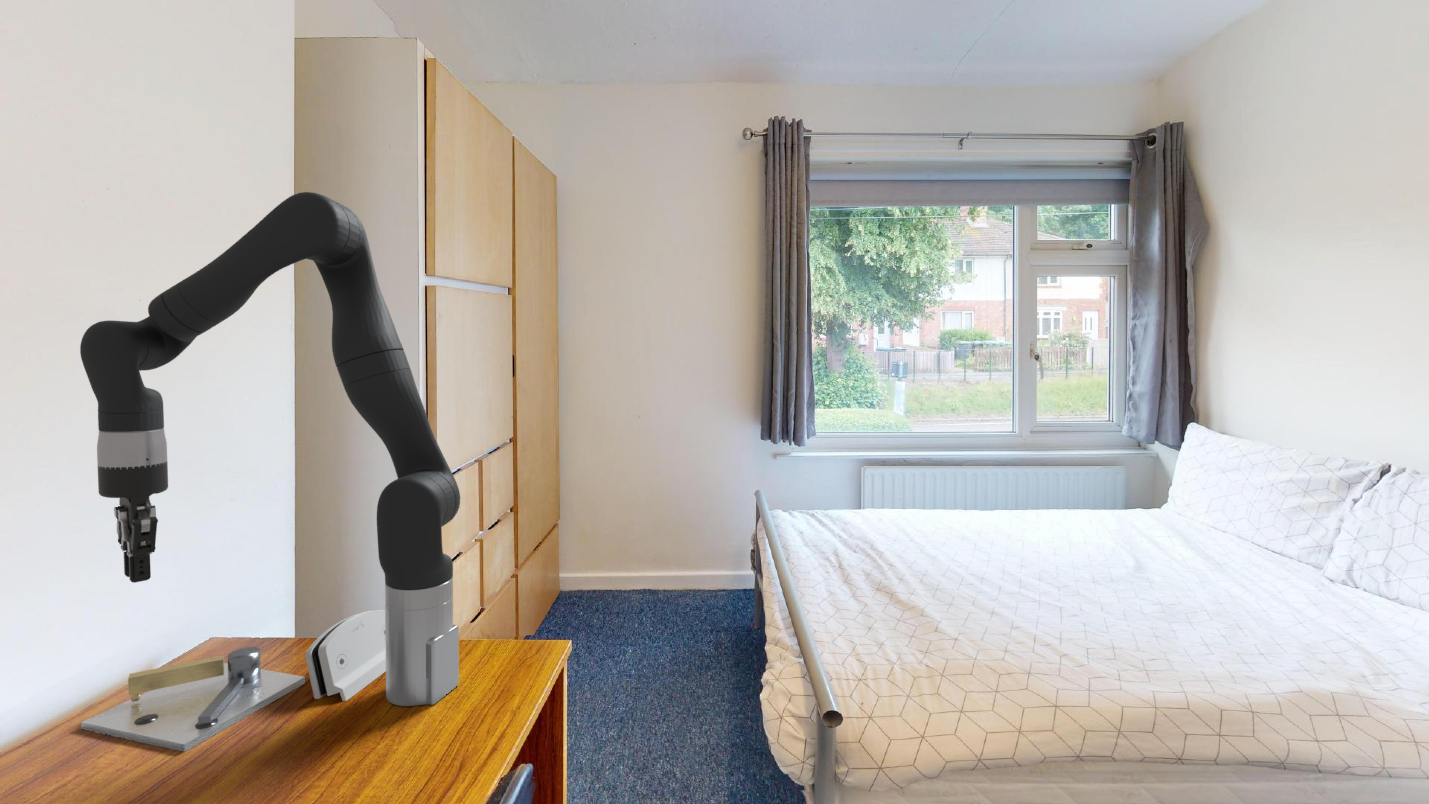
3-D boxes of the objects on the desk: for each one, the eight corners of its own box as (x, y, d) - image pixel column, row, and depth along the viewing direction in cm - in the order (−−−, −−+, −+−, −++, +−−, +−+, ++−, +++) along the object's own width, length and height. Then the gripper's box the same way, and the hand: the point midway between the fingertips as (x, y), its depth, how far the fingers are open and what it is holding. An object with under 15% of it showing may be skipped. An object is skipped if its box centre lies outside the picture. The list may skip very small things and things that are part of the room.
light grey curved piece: (344, 702, 95) (322, 637, 94) (316, 709, 95) (294, 645, 95) (412, 651, 111) (394, 595, 111) (388, 657, 112) (370, 602, 112)
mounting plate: (305, 683, 100) (304, 651, 99) (184, 751, 82) (183, 713, 82) (214, 667, 104) (213, 636, 103) (81, 729, 86) (79, 693, 86)
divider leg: (224, 678, 98) (223, 655, 97) (223, 682, 96) (223, 659, 96) (130, 698, 91) (129, 673, 91) (129, 703, 90) (128, 678, 90)
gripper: (179, 464, 92) (183, 583, 94) (155, 452, 101) (158, 561, 102) (107, 470, 86) (112, 597, 88) (88, 457, 95) (93, 573, 96)
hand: (137, 577), depth 95 cm, fingers open, 3 cm apart
